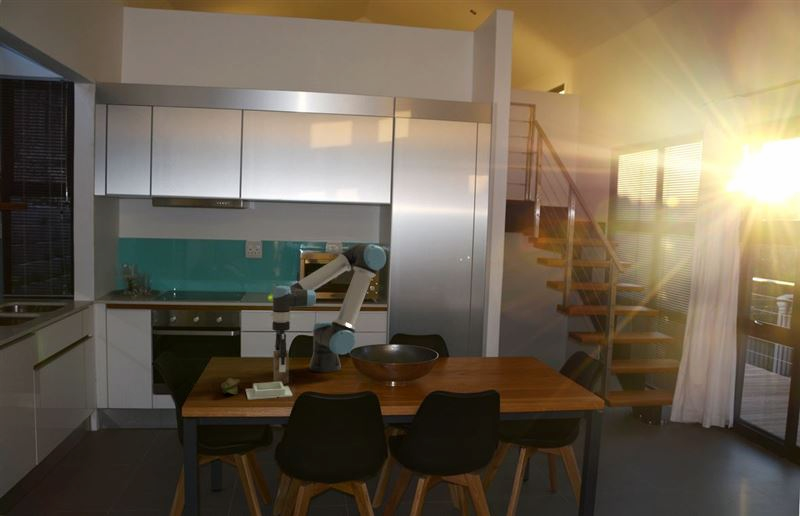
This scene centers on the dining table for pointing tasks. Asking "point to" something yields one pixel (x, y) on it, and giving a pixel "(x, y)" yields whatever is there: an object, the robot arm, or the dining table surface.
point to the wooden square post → (278, 375)
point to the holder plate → (268, 391)
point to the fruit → (230, 386)
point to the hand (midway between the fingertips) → (280, 368)
